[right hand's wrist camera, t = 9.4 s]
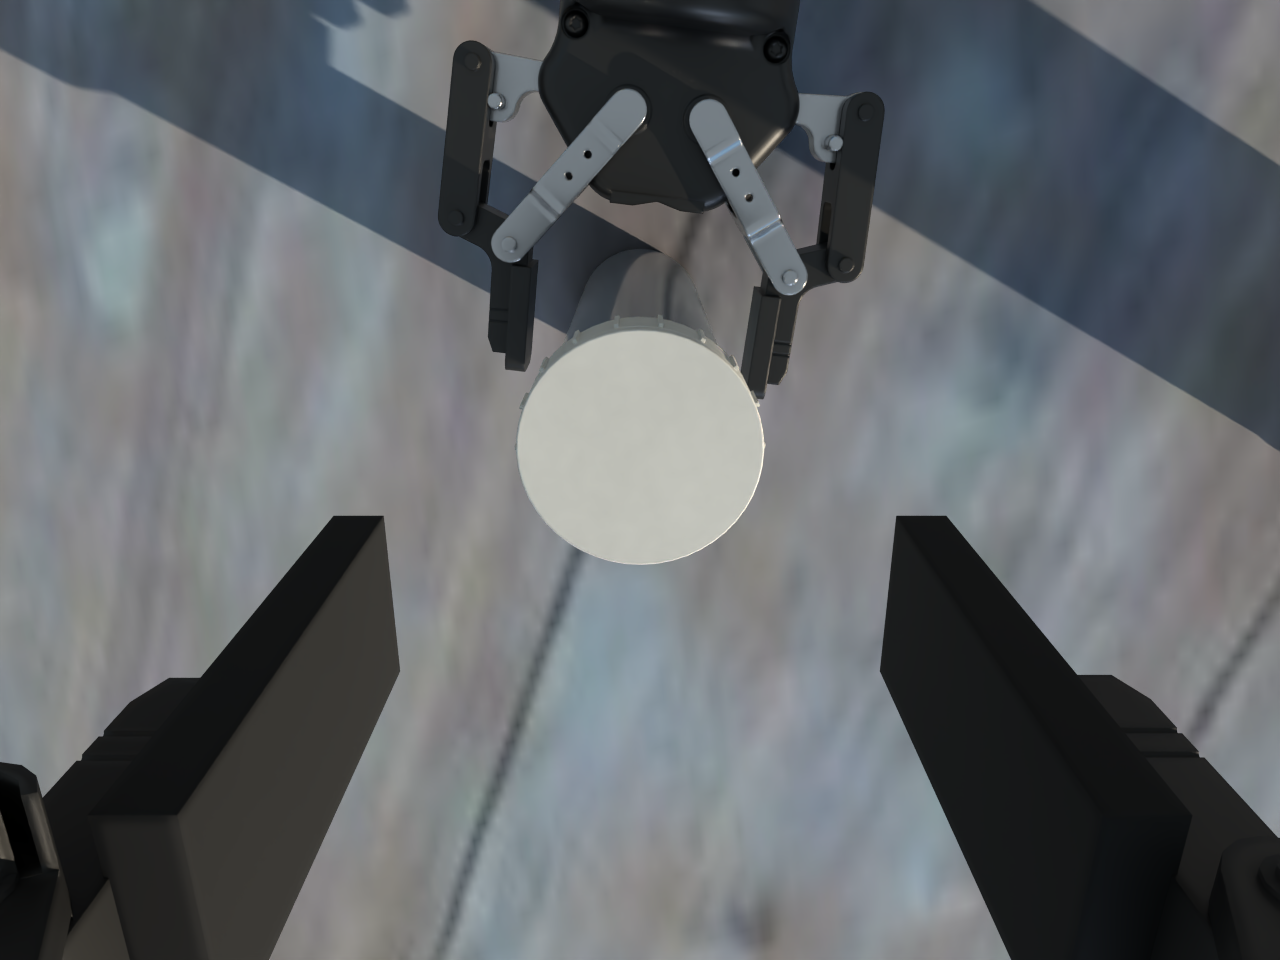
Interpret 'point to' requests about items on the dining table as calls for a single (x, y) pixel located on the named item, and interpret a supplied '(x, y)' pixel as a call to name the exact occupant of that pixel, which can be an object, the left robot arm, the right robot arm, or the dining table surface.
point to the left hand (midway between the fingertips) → (635, 380)
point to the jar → (640, 292)
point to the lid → (639, 441)
